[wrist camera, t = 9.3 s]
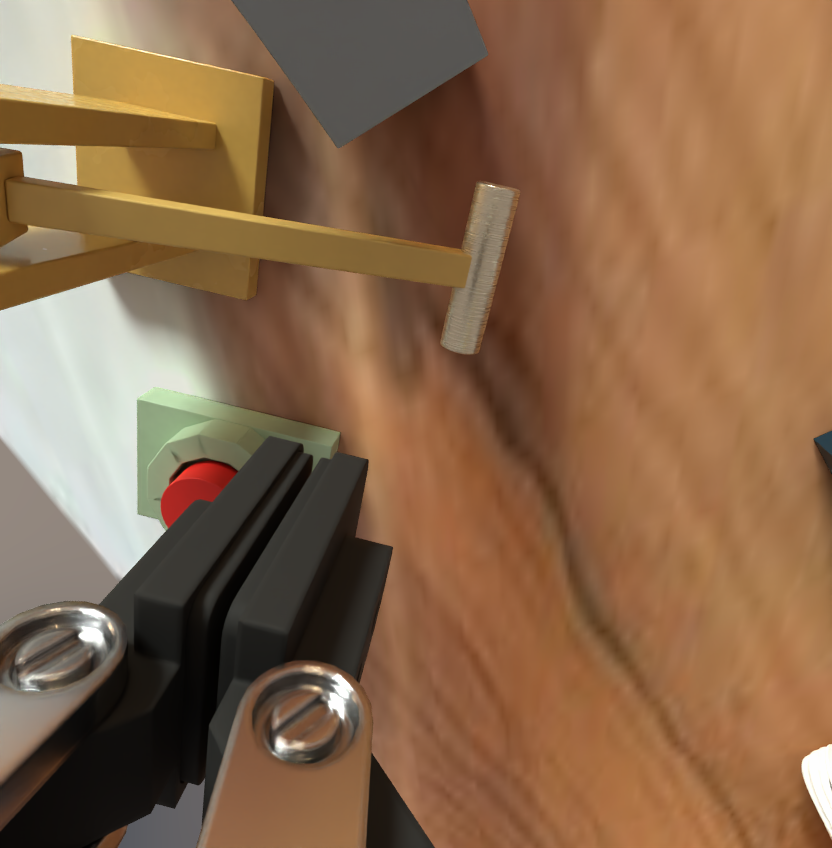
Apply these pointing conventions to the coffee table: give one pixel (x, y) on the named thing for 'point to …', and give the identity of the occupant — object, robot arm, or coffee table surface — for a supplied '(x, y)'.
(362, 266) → the tap lever
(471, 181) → the coffee table surface
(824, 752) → the shell sculpture
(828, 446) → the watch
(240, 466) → the button box
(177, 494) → the stop button
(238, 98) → the bracket
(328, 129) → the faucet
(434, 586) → the coffee table surface
